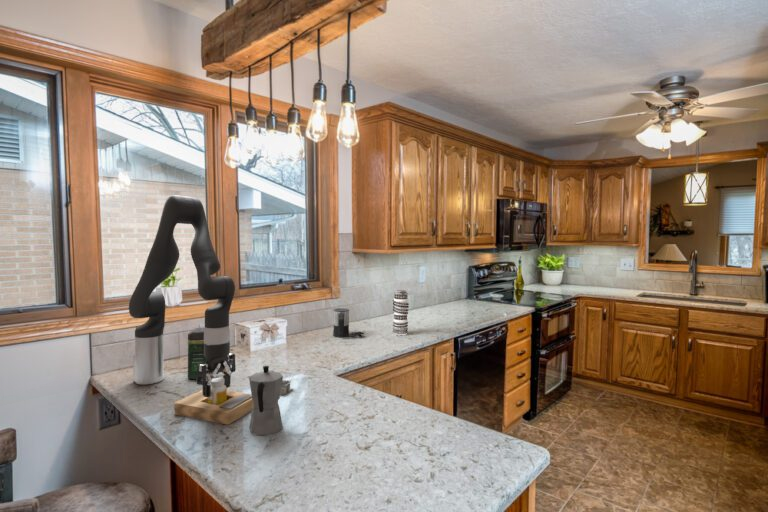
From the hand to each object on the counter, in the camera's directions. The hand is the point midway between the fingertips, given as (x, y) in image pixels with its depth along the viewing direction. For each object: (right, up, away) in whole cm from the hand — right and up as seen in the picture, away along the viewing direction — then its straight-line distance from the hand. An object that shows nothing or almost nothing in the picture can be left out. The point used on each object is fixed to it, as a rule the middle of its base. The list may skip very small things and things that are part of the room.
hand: (217, 391), depth 128 cm
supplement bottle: (0, -6, 0) cm, 6 cm away
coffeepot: (+19, -7, -13) cm, 24 cm away
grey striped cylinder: (+62, -2, +106) cm, 122 cm away
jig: (0, -6, 0) cm, 6 cm away
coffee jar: (-20, -5, +32) cm, 37 cm away
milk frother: (+32, -2, +100) cm, 105 cm away
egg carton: (+13, -6, +17) cm, 23 cm away
